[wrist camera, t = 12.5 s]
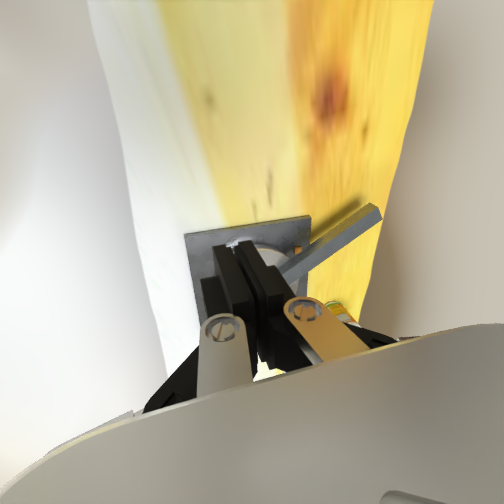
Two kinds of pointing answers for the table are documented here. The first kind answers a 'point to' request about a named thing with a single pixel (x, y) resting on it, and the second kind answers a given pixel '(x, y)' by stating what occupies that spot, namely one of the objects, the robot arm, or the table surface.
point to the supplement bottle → (341, 313)
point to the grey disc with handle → (320, 246)
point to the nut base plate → (268, 233)
